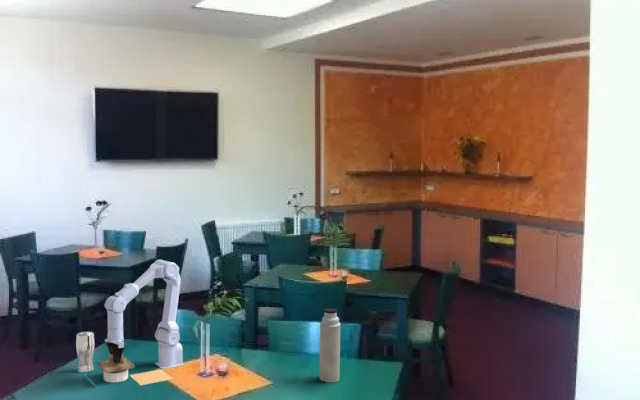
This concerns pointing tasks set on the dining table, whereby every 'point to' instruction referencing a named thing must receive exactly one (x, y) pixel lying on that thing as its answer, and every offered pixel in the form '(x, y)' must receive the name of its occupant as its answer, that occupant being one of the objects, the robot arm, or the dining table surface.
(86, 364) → the beer glass
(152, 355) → the dining table surface
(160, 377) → the mat
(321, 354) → the thermos bottle
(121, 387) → the dining table surface
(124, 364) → the lid
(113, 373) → the bowl
